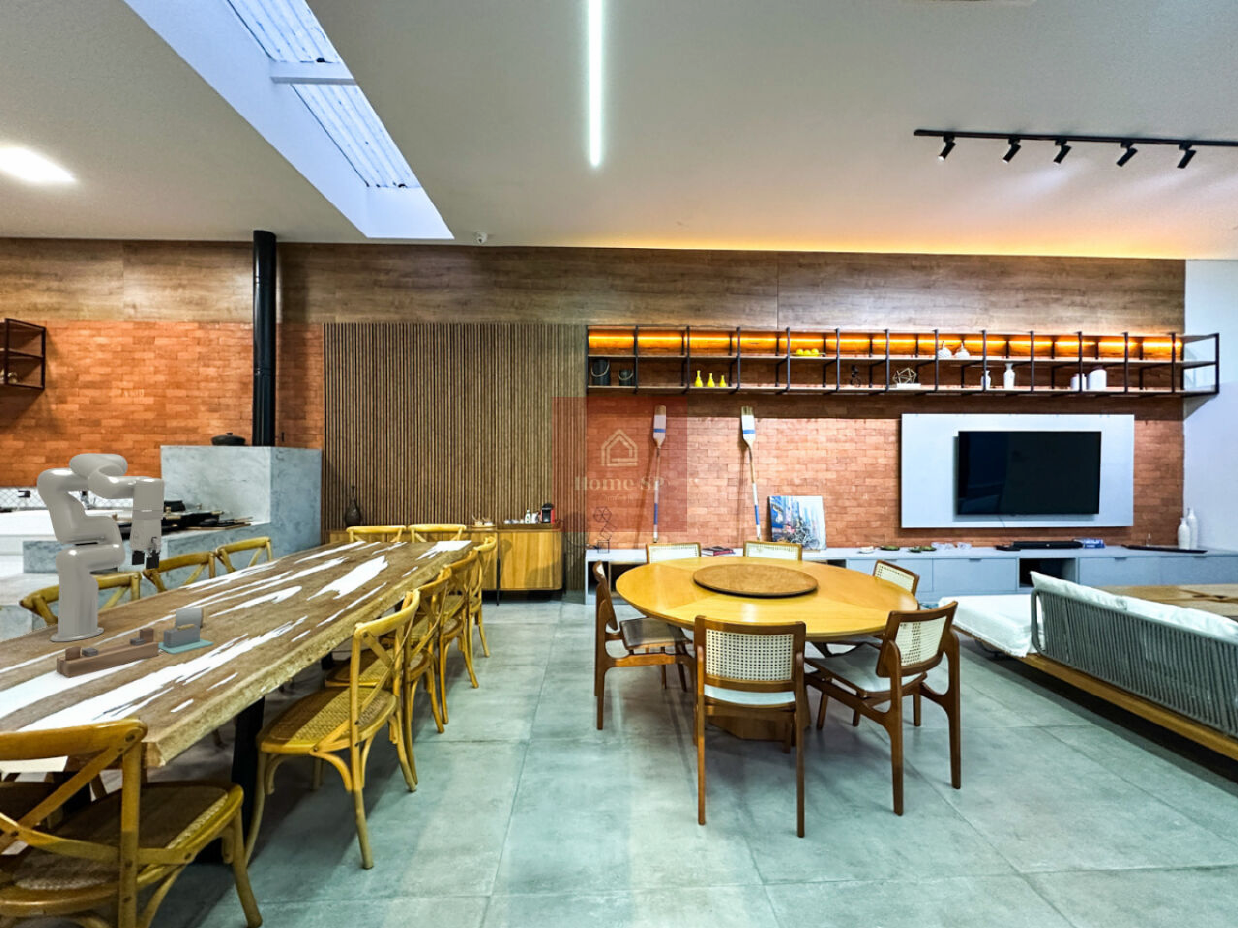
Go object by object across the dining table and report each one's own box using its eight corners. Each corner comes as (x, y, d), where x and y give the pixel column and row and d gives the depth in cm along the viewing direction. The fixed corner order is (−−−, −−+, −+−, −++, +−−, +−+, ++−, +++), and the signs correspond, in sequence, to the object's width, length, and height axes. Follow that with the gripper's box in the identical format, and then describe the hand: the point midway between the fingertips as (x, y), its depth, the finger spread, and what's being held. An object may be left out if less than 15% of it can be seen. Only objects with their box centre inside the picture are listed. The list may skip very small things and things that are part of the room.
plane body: (56, 671, 147) (57, 644, 147) (145, 650, 165) (145, 625, 165) (68, 677, 143) (69, 649, 143) (158, 655, 161) (158, 630, 161)
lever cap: (163, 645, 168) (163, 628, 168) (192, 638, 175) (192, 622, 175) (170, 648, 165) (171, 630, 165) (199, 641, 172) (200, 624, 172)
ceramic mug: (203, 628, 188) (204, 607, 188) (174, 633, 182) (175, 611, 182) (202, 622, 196) (203, 602, 196) (174, 626, 190) (175, 605, 190)
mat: (150, 646, 169) (150, 644, 169) (190, 636, 178) (190, 635, 178) (173, 654, 161) (173, 652, 161) (213, 644, 171) (213, 642, 171)
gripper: (120, 513, 168) (118, 565, 168) (146, 518, 160) (143, 572, 160) (149, 512, 175) (146, 561, 175) (175, 517, 167) (172, 568, 167)
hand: (145, 566), depth 168 cm, fingers open, 9 cm apart
